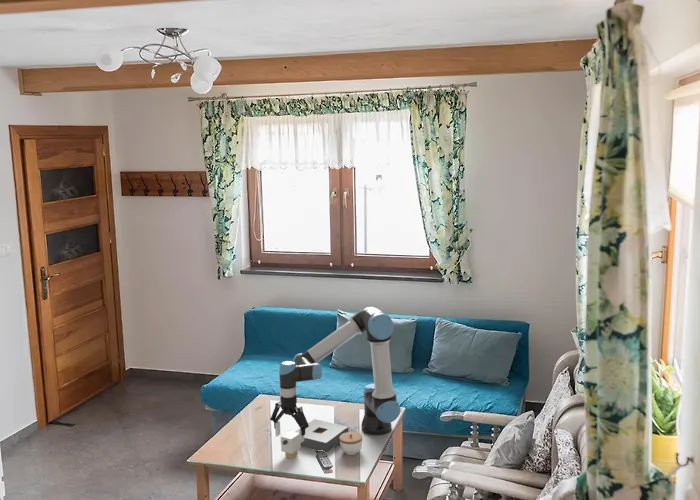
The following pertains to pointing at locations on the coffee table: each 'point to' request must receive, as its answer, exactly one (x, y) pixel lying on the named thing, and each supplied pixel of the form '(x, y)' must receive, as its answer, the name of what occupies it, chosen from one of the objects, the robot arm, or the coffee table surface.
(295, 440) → the plug
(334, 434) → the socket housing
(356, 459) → the coffee table surface
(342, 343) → the robot arm
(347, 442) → the lidded jar
